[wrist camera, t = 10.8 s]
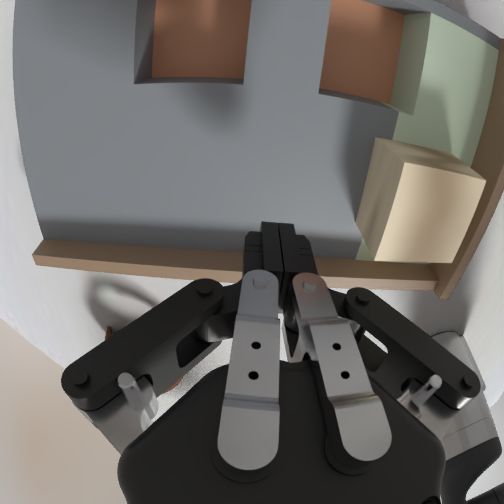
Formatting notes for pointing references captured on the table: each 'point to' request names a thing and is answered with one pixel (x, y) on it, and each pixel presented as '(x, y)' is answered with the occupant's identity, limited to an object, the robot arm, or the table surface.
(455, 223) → the maple block
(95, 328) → the table surface
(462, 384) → the robot arm
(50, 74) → the board
